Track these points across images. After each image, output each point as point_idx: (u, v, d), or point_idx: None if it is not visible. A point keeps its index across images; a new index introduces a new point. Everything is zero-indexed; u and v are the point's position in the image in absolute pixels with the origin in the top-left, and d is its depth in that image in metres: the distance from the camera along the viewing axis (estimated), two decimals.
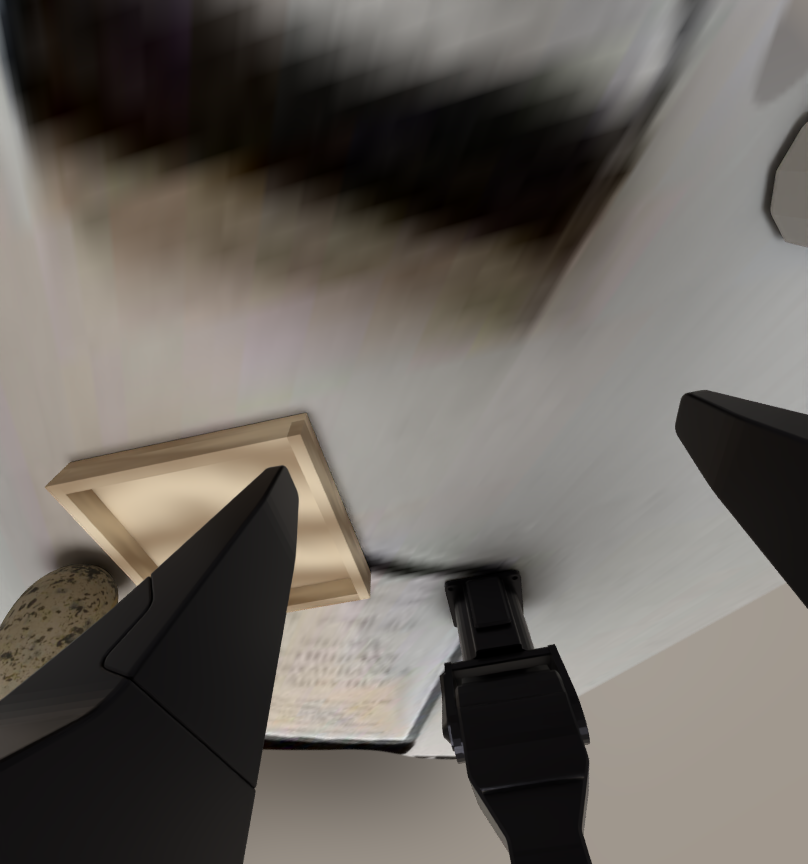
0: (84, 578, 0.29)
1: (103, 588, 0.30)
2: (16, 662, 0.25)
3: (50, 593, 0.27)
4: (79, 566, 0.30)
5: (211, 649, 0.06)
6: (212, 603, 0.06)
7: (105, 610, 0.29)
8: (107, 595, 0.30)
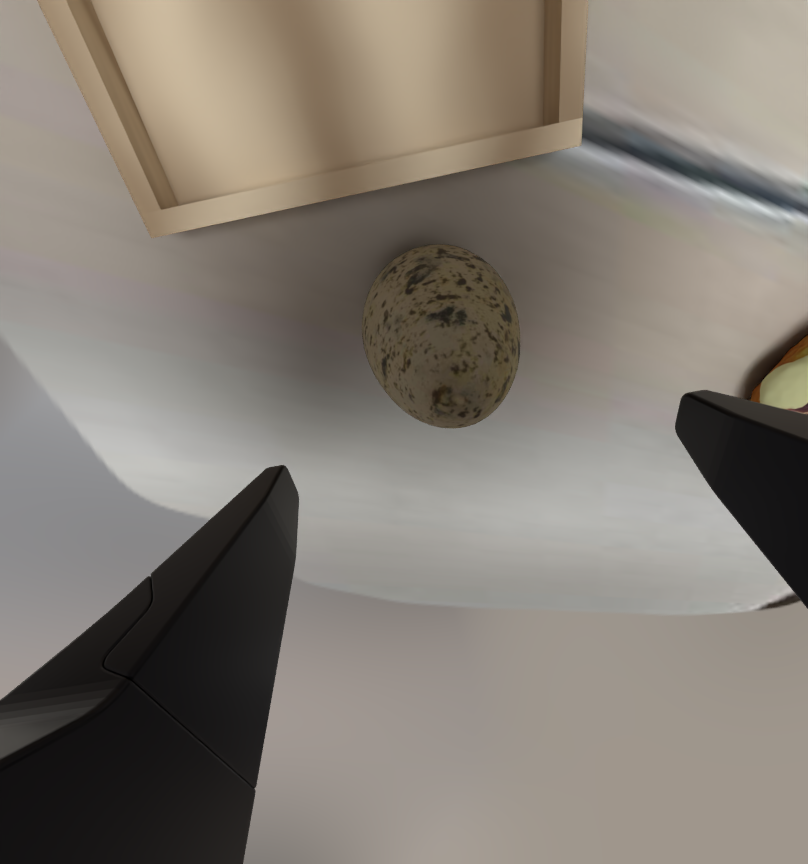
0: None
1: None
2: (393, 350, 0.12)
3: (363, 313, 0.16)
4: None
5: (211, 649, 0.06)
6: (212, 603, 0.06)
7: (434, 246, 0.15)
8: (419, 247, 0.16)
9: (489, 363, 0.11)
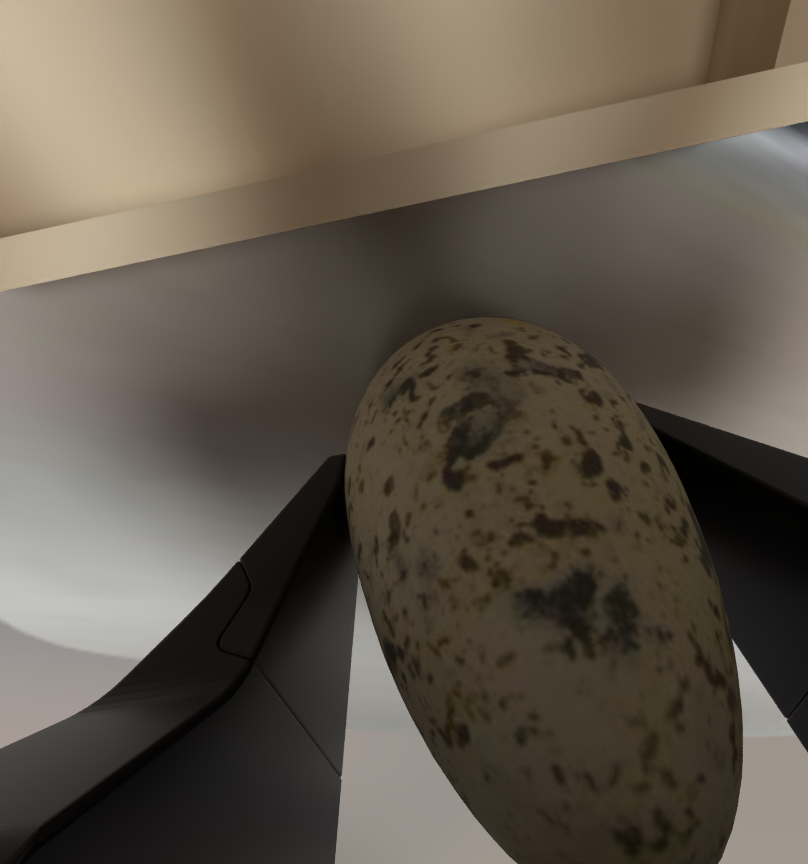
0: (378, 370, 0.09)
1: (431, 330, 0.08)
2: (414, 654, 0.05)
3: (347, 453, 0.08)
4: None
5: (307, 634, 0.06)
6: (306, 588, 0.06)
7: (492, 330, 0.07)
8: (458, 323, 0.08)
9: (724, 787, 0.04)
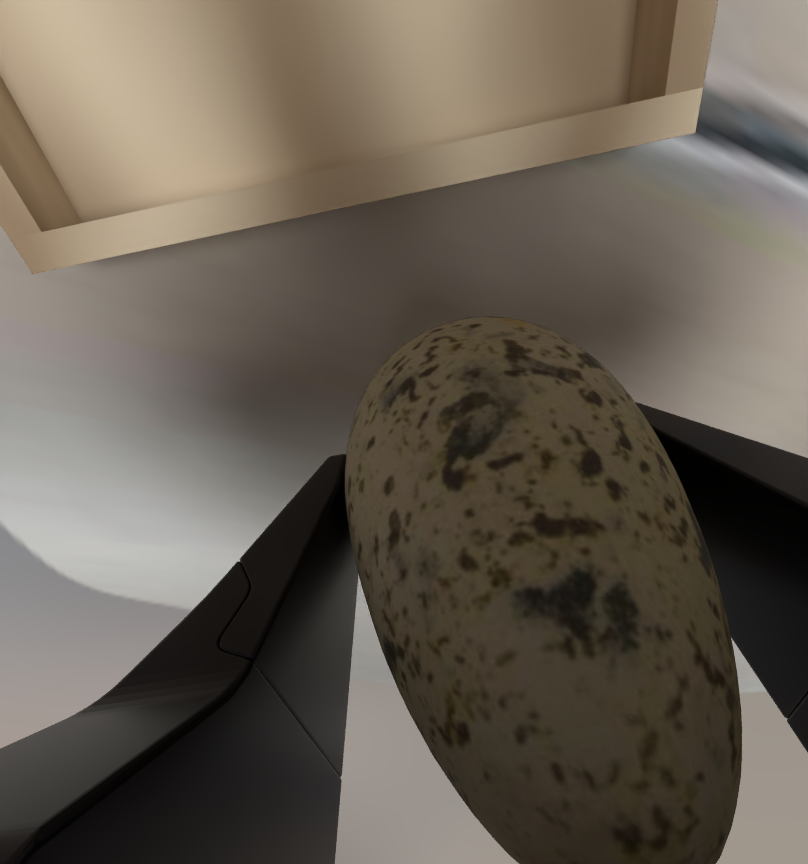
0: (378, 370, 0.09)
1: (431, 330, 0.08)
2: (414, 654, 0.05)
3: (347, 452, 0.08)
4: None
5: (307, 635, 0.06)
6: (306, 588, 0.06)
7: (492, 330, 0.07)
8: (458, 323, 0.08)
9: (723, 786, 0.04)
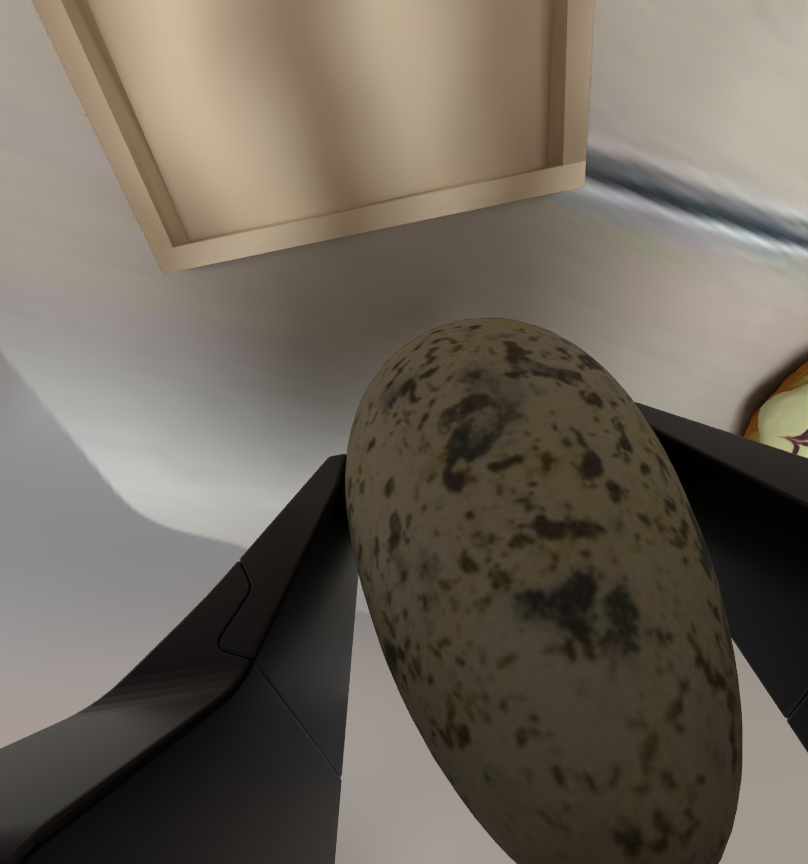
0: None
1: (432, 331, 0.08)
2: (415, 655, 0.05)
3: (347, 454, 0.08)
4: None
5: (307, 634, 0.06)
6: (306, 588, 0.06)
7: (493, 332, 0.07)
8: (458, 324, 0.08)
9: (724, 788, 0.04)
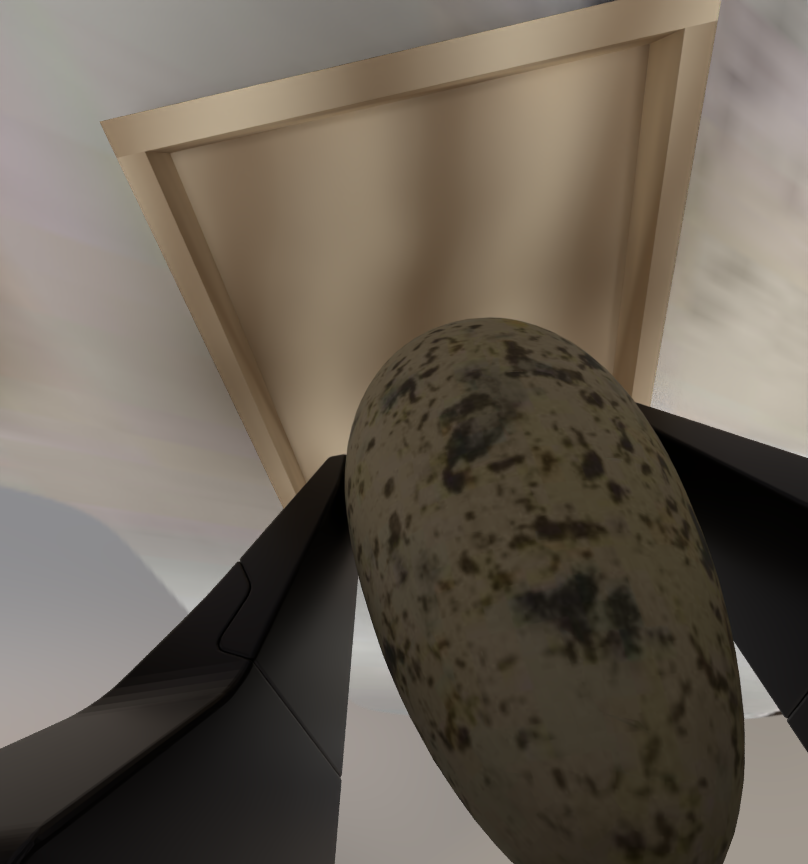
0: (378, 371, 0.09)
1: (431, 330, 0.08)
2: (414, 657, 0.05)
3: (347, 454, 0.08)
4: None
5: (307, 634, 0.06)
6: (306, 588, 0.06)
7: (492, 330, 0.07)
8: (458, 323, 0.08)
9: (726, 791, 0.04)
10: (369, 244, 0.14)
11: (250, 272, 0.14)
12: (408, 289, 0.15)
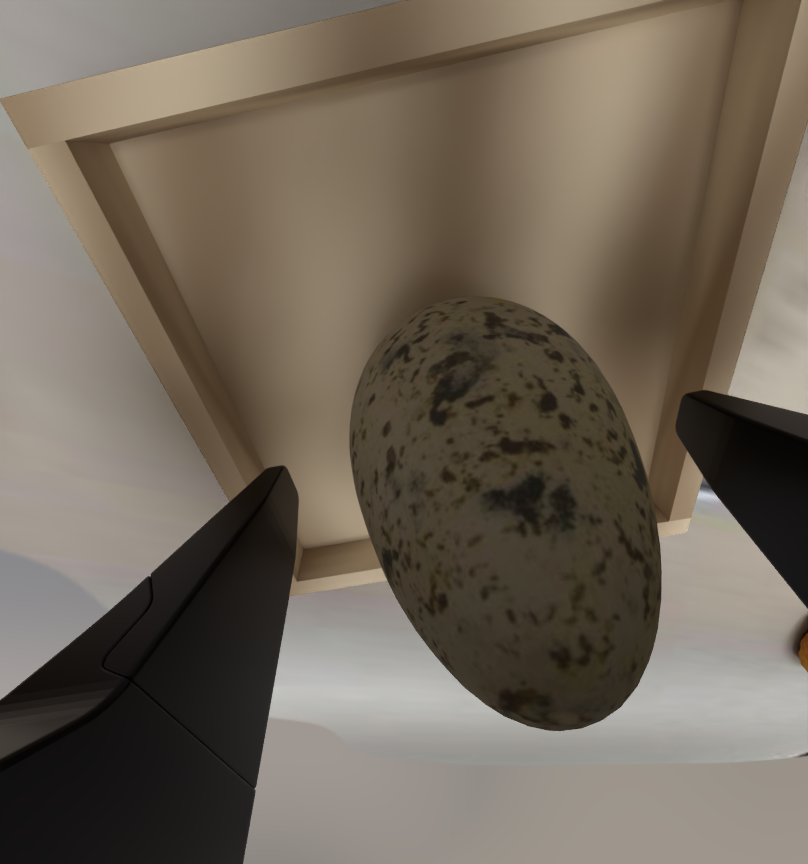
0: None
1: (424, 308, 0.09)
2: (406, 551, 0.06)
3: (351, 414, 0.09)
4: None
5: (211, 649, 0.06)
6: (212, 603, 0.06)
7: (476, 305, 0.08)
8: (447, 301, 0.09)
9: (636, 628, 0.05)
10: (369, 260, 0.11)
11: (220, 294, 0.12)
12: None
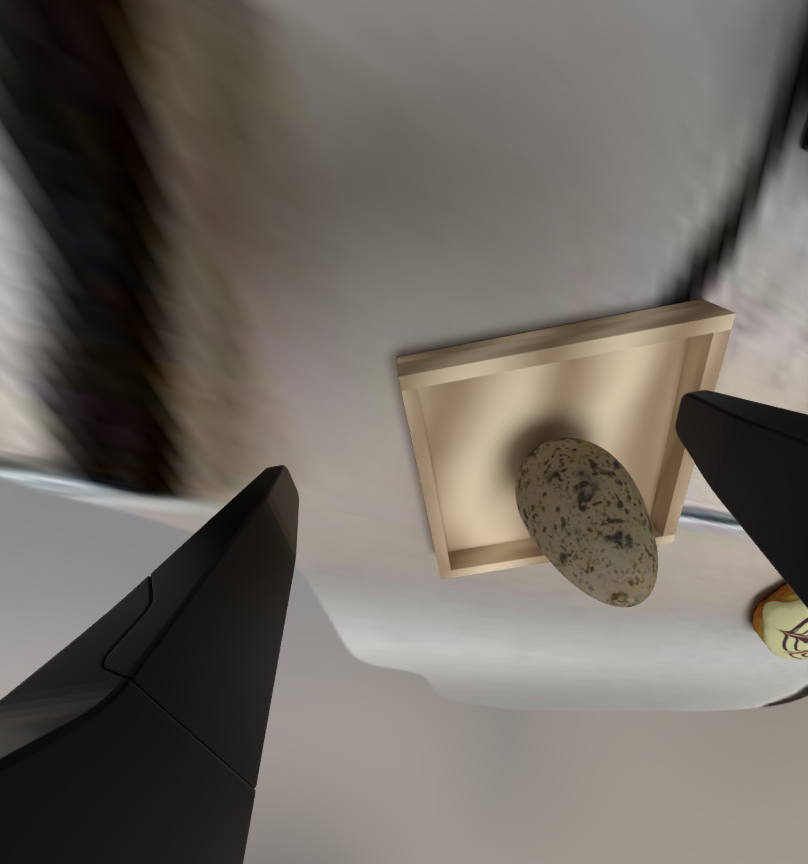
0: (530, 460, 0.22)
1: (554, 446, 0.22)
2: (575, 554, 0.18)
3: (524, 494, 0.21)
4: (522, 462, 0.24)
5: (211, 649, 0.06)
6: (212, 603, 0.06)
7: (582, 453, 0.20)
8: (566, 446, 0.21)
9: (650, 575, 0.17)
10: (517, 413, 0.23)
11: (443, 428, 0.24)
12: (536, 435, 0.24)
